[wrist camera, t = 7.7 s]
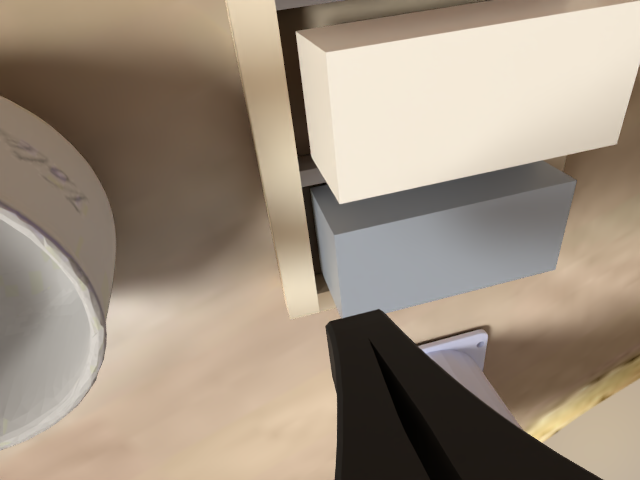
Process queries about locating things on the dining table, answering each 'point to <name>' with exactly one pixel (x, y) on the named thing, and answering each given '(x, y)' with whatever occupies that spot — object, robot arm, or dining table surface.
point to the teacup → (49, 275)
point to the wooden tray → (282, 149)
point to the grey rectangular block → (441, 237)
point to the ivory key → (465, 90)
